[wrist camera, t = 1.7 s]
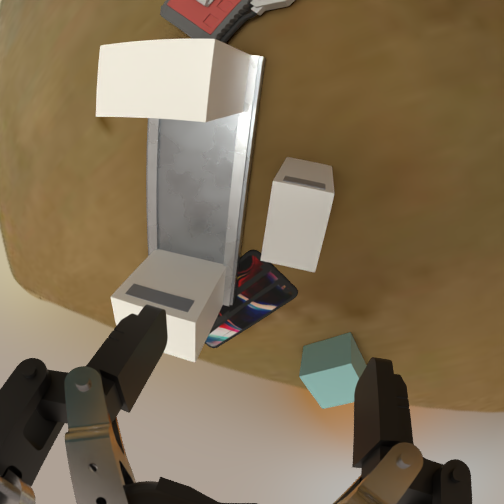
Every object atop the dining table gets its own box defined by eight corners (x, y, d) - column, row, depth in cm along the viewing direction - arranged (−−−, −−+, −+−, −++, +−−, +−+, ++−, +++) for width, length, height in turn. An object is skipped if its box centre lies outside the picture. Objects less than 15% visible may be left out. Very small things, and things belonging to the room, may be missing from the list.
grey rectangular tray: (265, 58, 23) (262, 56, 22) (235, 298, 35) (231, 306, 34) (159, 54, 24) (151, 53, 23) (154, 278, 37) (149, 285, 35)
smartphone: (301, 294, 33) (213, 350, 40) (301, 290, 34) (214, 346, 41) (253, 246, 32) (171, 314, 39) (254, 243, 32) (173, 311, 39)
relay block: (350, 331, 34) (367, 367, 37) (303, 345, 37) (324, 378, 39) (351, 363, 30) (368, 398, 32) (299, 376, 33) (322, 408, 35)
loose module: (332, 165, 26) (335, 193, 19) (318, 227, 29) (315, 273, 22) (286, 156, 27) (272, 179, 20) (276, 218, 30) (259, 261, 23)
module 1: (251, 54, 22) (215, 37, 14) (243, 112, 24) (205, 123, 17) (163, 52, 23) (100, 44, 15) (158, 105, 26) (95, 117, 18)
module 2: (227, 264, 32) (195, 322, 24) (223, 303, 35) (195, 362, 27) (156, 247, 33) (110, 296, 25) (157, 286, 36) (118, 337, 28)
